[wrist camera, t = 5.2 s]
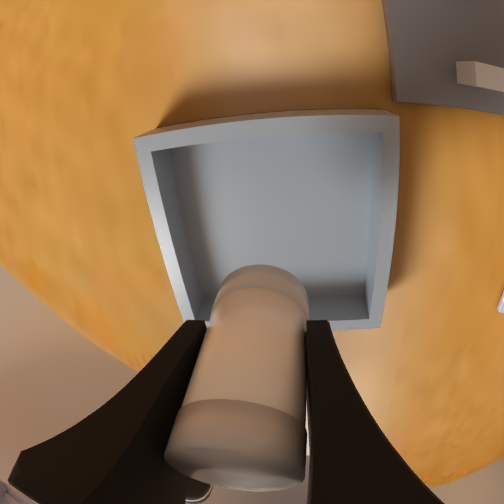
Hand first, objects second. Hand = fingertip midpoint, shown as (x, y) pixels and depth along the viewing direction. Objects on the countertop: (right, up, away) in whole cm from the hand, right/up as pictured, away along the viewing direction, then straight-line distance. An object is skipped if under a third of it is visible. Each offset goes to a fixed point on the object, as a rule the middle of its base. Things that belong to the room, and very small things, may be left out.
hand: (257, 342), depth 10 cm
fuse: (0, +1, +1) cm, 2 cm away
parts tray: (+1, +5, +8) cm, 9 cm away
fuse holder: (+11, +14, 0) cm, 18 cm away
